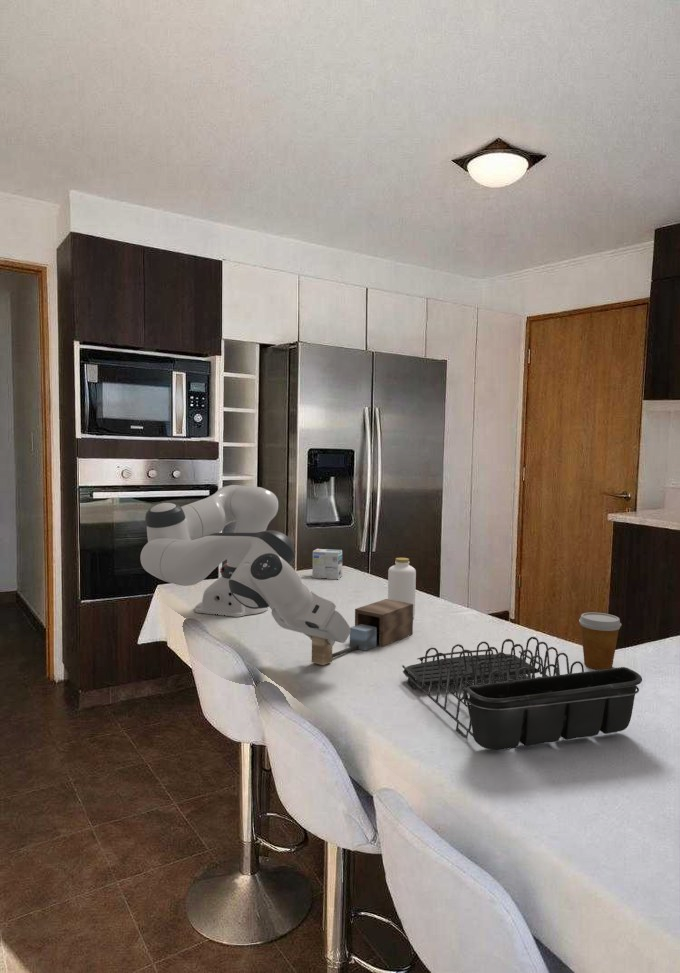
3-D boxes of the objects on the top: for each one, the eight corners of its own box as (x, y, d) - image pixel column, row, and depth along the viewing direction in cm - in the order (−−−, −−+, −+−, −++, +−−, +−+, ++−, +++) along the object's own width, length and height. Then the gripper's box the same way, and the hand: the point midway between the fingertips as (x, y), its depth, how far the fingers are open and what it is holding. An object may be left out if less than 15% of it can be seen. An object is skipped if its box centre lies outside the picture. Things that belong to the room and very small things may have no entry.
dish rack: (480, 768, 111) (482, 697, 110) (387, 676, 153) (388, 624, 152) (650, 744, 120) (653, 679, 119) (518, 664, 163) (519, 615, 162)
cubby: (382, 646, 174) (383, 614, 173) (354, 640, 179) (355, 608, 179) (412, 634, 186) (413, 603, 185) (385, 628, 191) (386, 598, 191)
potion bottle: (414, 614, 207) (415, 556, 206) (415, 621, 199) (416, 561, 198) (387, 613, 208) (388, 555, 207) (387, 620, 200) (388, 560, 198)
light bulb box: (342, 576, 263) (343, 549, 262) (338, 580, 256) (338, 552, 256) (316, 575, 265) (316, 548, 265) (311, 578, 259) (312, 550, 258)
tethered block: (325, 665, 157) (326, 628, 157) (309, 661, 160) (309, 624, 160) (376, 646, 174) (377, 612, 174) (360, 642, 177) (361, 609, 177)
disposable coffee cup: (618, 662, 164) (620, 614, 164) (620, 674, 155) (623, 624, 155) (577, 657, 168) (578, 610, 167) (577, 669, 159) (579, 620, 158)
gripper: (258, 611, 157) (285, 643, 165) (326, 627, 145) (352, 660, 153) (271, 589, 160) (297, 621, 169) (339, 603, 148) (363, 637, 156)
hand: (324, 640), depth 161 cm, fingers closed on tethered block, 3 cm apart
